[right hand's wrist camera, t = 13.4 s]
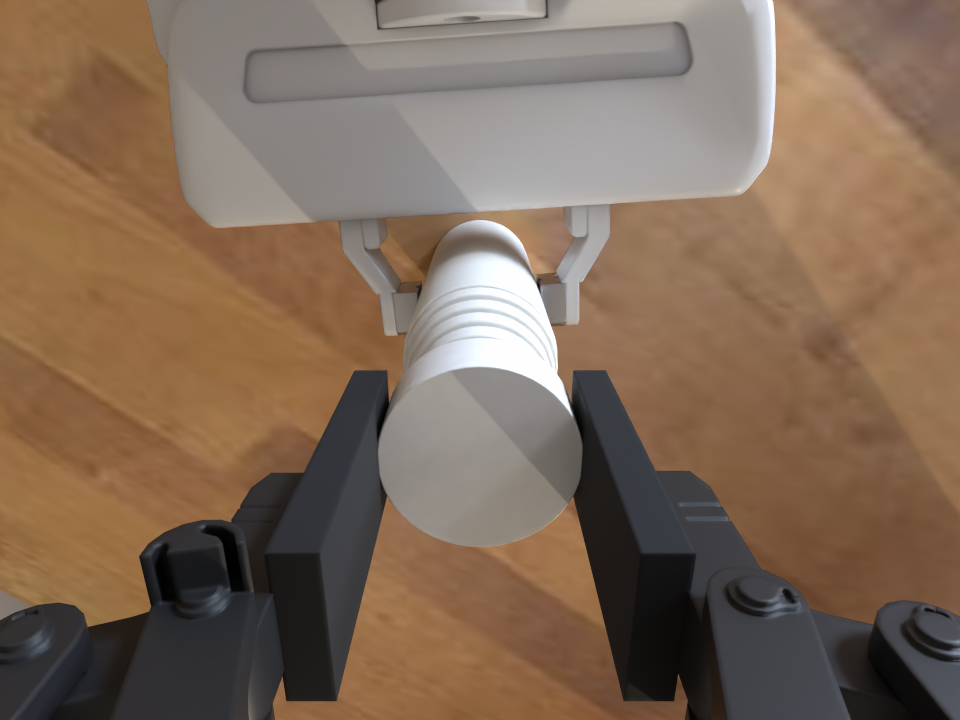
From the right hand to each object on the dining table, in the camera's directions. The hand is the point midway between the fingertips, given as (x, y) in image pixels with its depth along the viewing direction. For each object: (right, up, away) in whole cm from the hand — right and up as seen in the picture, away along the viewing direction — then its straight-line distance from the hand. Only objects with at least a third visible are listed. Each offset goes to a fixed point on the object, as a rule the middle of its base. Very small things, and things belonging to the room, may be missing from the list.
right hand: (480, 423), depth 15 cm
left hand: (0, +3, +10) cm, 10 cm away
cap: (0, -1, -1) cm, 1 cm away
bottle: (0, +6, +15) cm, 17 cm away
